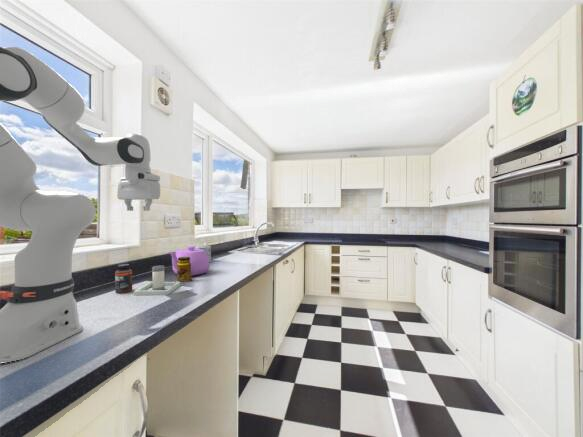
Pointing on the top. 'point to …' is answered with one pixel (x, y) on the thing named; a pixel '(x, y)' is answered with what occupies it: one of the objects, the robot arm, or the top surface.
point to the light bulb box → (207, 250)
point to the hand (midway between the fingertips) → (138, 210)
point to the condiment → (184, 269)
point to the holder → (181, 295)
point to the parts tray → (157, 292)
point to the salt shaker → (158, 278)
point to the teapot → (192, 260)
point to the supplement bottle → (123, 279)
